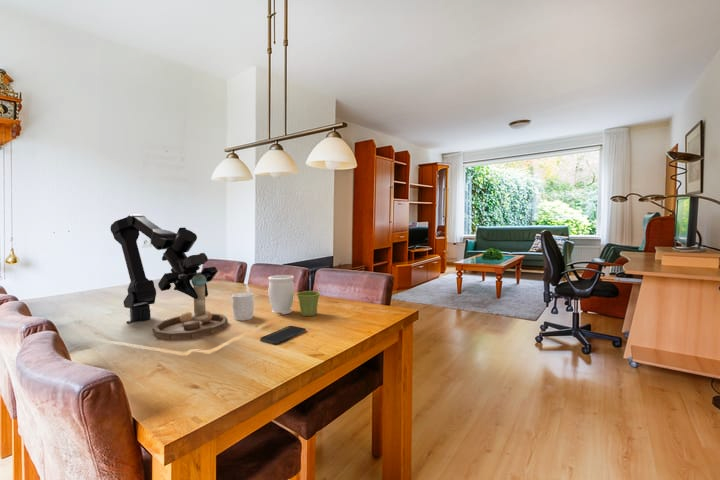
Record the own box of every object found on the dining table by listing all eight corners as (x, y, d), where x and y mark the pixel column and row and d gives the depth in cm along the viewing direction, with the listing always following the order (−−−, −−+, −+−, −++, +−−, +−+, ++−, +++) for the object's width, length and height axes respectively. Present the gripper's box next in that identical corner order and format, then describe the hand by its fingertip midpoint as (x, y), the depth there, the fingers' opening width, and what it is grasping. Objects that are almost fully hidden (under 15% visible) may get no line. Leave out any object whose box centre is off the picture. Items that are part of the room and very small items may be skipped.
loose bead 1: (177, 324, 120) (176, 312, 120) (187, 321, 124) (186, 309, 124) (186, 326, 118) (186, 313, 118) (196, 322, 123) (196, 310, 122)
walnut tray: (137, 338, 110) (137, 329, 109) (192, 318, 131) (192, 311, 131) (191, 346, 102) (190, 336, 102) (240, 324, 123) (239, 316, 123)
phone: (258, 338, 107) (290, 325, 120) (258, 342, 107) (290, 328, 120) (277, 342, 103) (307, 328, 116) (277, 346, 103) (307, 331, 116)
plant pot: (292, 314, 137) (292, 293, 136) (312, 309, 143) (312, 289, 142) (304, 319, 130) (304, 297, 129) (325, 314, 136) (324, 293, 135)
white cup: (247, 323, 124) (246, 297, 123) (228, 322, 126) (227, 296, 125) (258, 317, 132) (257, 292, 131) (240, 316, 133) (239, 291, 133)
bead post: (188, 320, 109) (187, 275, 108) (195, 315, 114) (194, 272, 113) (204, 319, 109) (203, 275, 108) (210, 315, 114) (209, 272, 113)
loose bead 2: (196, 323, 121) (195, 311, 121) (205, 320, 125) (205, 308, 125) (205, 325, 120) (205, 312, 119) (214, 321, 124) (214, 309, 123)
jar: (271, 309, 144) (270, 274, 143) (295, 308, 145) (295, 274, 144) (266, 316, 134) (265, 279, 133) (292, 315, 134) (292, 278, 133)
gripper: (162, 247, 103) (187, 286, 99) (213, 243, 120) (236, 276, 116) (148, 271, 107) (171, 309, 103) (199, 264, 124) (221, 297, 120)
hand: (202, 297), depth 110 cm, fingers closed on bead post, 3 cm apart
